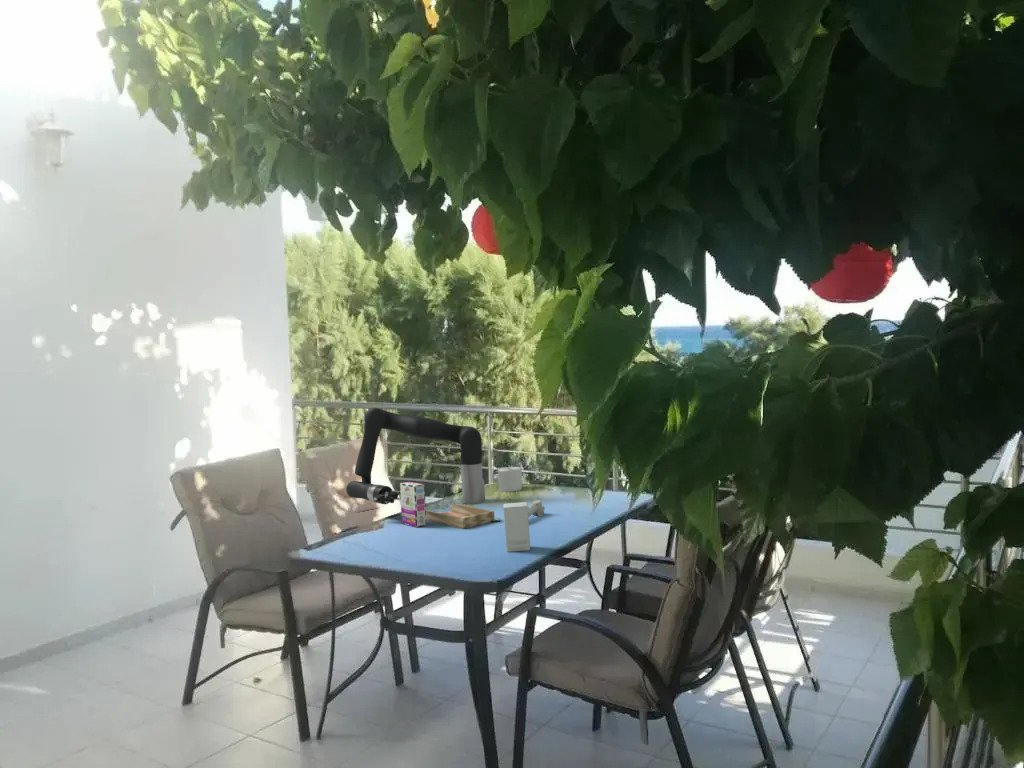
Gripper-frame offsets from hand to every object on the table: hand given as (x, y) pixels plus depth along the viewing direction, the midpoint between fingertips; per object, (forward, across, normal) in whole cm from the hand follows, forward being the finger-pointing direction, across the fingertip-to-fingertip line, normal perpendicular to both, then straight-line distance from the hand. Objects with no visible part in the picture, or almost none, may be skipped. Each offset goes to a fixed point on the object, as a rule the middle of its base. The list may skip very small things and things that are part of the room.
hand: (402, 498), depth 330 cm
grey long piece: (+38, +32, +10) cm, 51 cm away
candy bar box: (+7, 0, +10) cm, 12 cm away
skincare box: (+67, 0, +10) cm, 68 cm away
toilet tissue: (-14, +71, +10) cm, 73 cm away
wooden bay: (+16, +15, +10) cm, 24 cm away
